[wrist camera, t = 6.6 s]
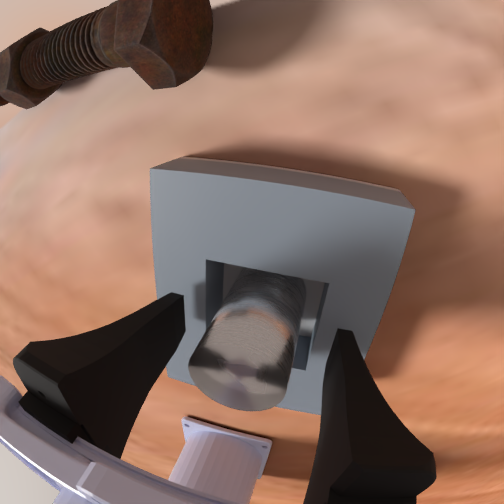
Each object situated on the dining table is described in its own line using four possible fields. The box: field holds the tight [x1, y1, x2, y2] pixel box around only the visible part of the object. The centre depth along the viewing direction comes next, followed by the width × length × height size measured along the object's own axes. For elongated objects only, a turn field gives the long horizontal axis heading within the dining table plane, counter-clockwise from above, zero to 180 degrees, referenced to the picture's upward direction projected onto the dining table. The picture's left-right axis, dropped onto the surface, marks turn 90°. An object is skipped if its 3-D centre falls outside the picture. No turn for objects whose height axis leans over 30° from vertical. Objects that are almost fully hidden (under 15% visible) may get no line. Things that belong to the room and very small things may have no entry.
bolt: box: [0, 0, 213, 109], centre depth 11 cm, size 6×5×15 cm
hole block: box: [150, 157, 415, 415], centre depth 14 cm, size 12×10×3 cm
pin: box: [188, 267, 307, 411], centre depth 13 cm, size 4×4×6 cm
